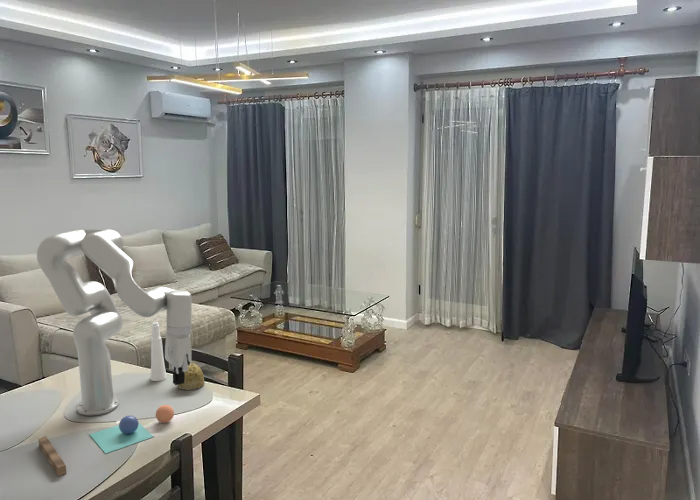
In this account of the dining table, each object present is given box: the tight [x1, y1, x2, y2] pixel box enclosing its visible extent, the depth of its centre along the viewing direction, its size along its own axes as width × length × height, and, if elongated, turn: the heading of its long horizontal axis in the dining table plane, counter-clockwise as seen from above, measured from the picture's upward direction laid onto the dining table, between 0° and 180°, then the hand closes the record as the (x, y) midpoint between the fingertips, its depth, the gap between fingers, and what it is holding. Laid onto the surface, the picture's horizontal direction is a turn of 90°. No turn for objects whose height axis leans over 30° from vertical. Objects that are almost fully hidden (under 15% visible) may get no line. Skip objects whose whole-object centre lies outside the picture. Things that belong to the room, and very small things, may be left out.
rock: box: [177, 362, 206, 391], centre depth 198 cm, size 10×11×10 cm
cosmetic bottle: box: [149, 321, 168, 382], centre depth 203 cm, size 6×6×22 cm
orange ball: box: [155, 404, 175, 424], centre depth 171 cm, size 6×6×6 cm
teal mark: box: [89, 421, 155, 454], centre depth 163 cm, size 14×14×1 cm
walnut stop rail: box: [37, 435, 67, 477], centre depth 150 cm, size 20×2×2 cm, turn 42°
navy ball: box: [118, 415, 140, 434], centre depth 164 cm, size 6×6×6 cm
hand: (178, 383), depth 174 cm, fingers closed
